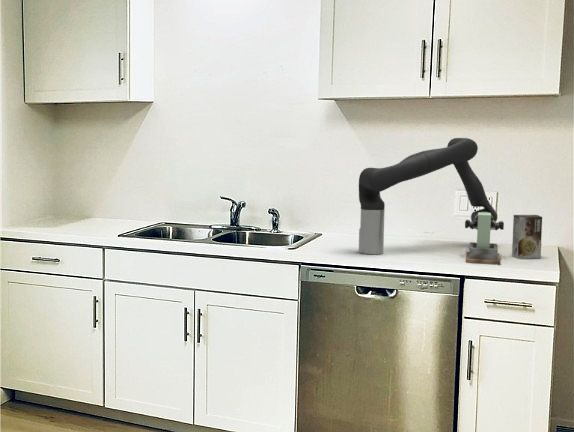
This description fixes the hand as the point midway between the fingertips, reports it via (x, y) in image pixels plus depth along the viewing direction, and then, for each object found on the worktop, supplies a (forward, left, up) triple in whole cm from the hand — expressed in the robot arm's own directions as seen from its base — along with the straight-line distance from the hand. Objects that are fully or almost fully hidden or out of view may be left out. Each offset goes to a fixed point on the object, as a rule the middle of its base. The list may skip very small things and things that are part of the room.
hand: (484, 227), depth 254 cm
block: (0, -2, -11) cm, 11 cm away
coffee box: (+16, +9, -12) cm, 22 cm away
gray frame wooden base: (0, -2, -12) cm, 12 cm away
